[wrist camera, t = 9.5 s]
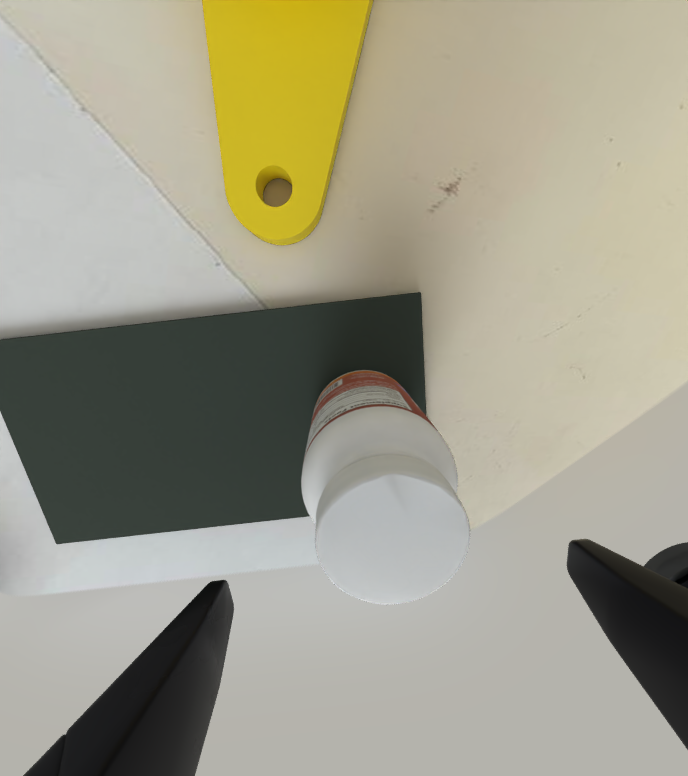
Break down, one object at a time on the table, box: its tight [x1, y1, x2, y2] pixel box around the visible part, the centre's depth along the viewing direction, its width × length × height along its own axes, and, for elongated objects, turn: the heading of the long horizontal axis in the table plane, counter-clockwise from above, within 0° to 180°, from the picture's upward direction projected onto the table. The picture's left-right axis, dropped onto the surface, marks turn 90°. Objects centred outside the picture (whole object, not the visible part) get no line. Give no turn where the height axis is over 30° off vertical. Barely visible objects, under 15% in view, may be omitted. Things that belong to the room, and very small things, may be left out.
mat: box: [0, 292, 426, 544], centre depth 20 cm, size 26×14×1 cm, turn 96°
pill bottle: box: [301, 370, 470, 605], centre depth 15 cm, size 6×6×11 cm
